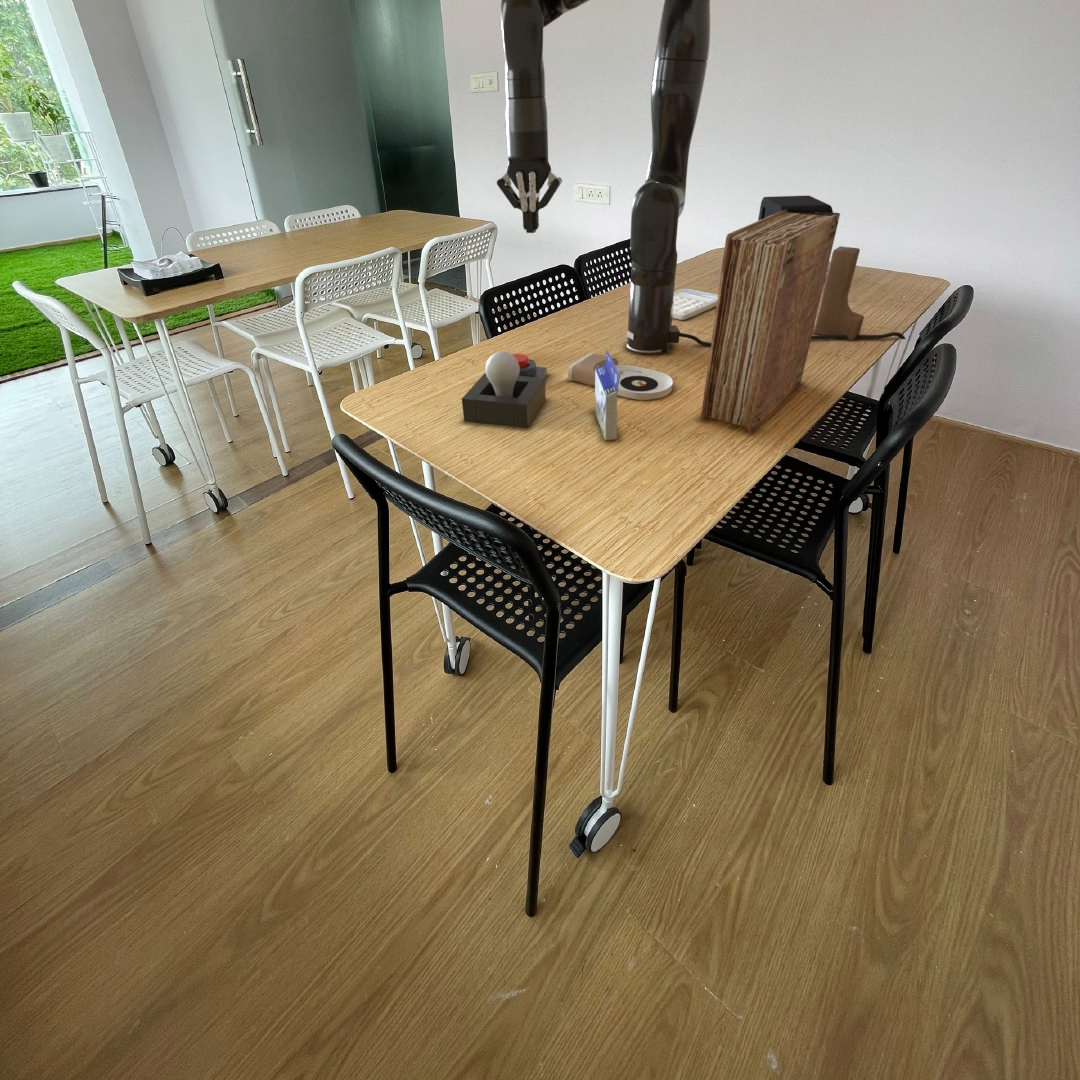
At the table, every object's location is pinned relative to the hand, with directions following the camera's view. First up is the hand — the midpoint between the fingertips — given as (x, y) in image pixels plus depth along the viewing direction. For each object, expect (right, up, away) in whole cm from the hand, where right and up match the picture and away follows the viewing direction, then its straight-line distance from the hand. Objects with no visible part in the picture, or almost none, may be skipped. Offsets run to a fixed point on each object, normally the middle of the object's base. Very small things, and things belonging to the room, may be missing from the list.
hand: (531, 232), depth 123 cm
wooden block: (+70, -14, +19) cm, 74 cm away
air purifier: (+74, +16, +60) cm, 96 cm away
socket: (-5, -38, -8) cm, 39 cm away
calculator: (+39, 0, +39) cm, 56 cm away
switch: (-3, -29, +3) cm, 29 cm away
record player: (+18, -30, 0) cm, 35 cm away
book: (+41, -36, -8) cm, 55 cm away
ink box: (+13, -42, -14) cm, 46 cm away
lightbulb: (-5, -38, -8) cm, 39 cm away
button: (-3, -26, +1) cm, 27 cm away
